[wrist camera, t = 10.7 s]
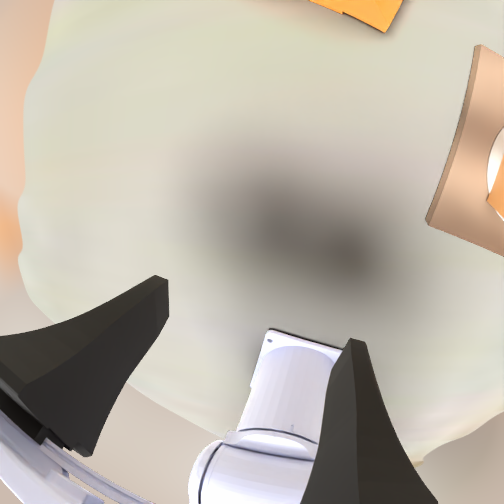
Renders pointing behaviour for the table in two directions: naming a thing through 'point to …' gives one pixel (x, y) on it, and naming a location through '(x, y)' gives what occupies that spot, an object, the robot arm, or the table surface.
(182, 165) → the table surface
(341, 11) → the bracket
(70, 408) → the robot arm
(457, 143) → the post base
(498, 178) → the collar
